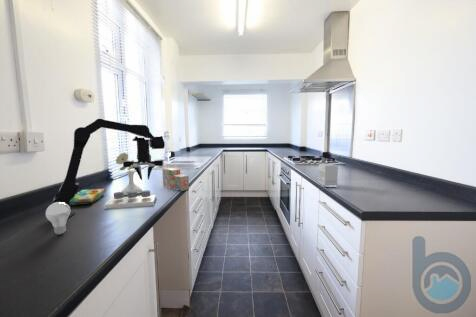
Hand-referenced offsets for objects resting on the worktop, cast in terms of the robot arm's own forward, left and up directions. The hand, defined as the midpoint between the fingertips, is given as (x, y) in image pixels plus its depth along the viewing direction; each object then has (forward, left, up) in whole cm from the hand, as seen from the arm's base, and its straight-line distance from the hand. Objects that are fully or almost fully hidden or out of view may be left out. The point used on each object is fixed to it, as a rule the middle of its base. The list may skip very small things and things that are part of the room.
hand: (144, 179), depth 116 cm
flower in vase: (+17, +12, -12) cm, 24 cm away
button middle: (0, +6, -9) cm, 11 cm away
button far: (0, 0, -9) cm, 9 cm away
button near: (0, +13, -9) cm, 16 cm away
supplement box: (+7, -113, -12) cm, 114 cm away
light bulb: (-33, +24, -12) cm, 42 cm away
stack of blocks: (+28, -14, -12) cm, 33 cm away
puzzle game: (+10, +32, -12) cm, 35 cm away
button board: (-1, +7, -12) cm, 14 cm away
